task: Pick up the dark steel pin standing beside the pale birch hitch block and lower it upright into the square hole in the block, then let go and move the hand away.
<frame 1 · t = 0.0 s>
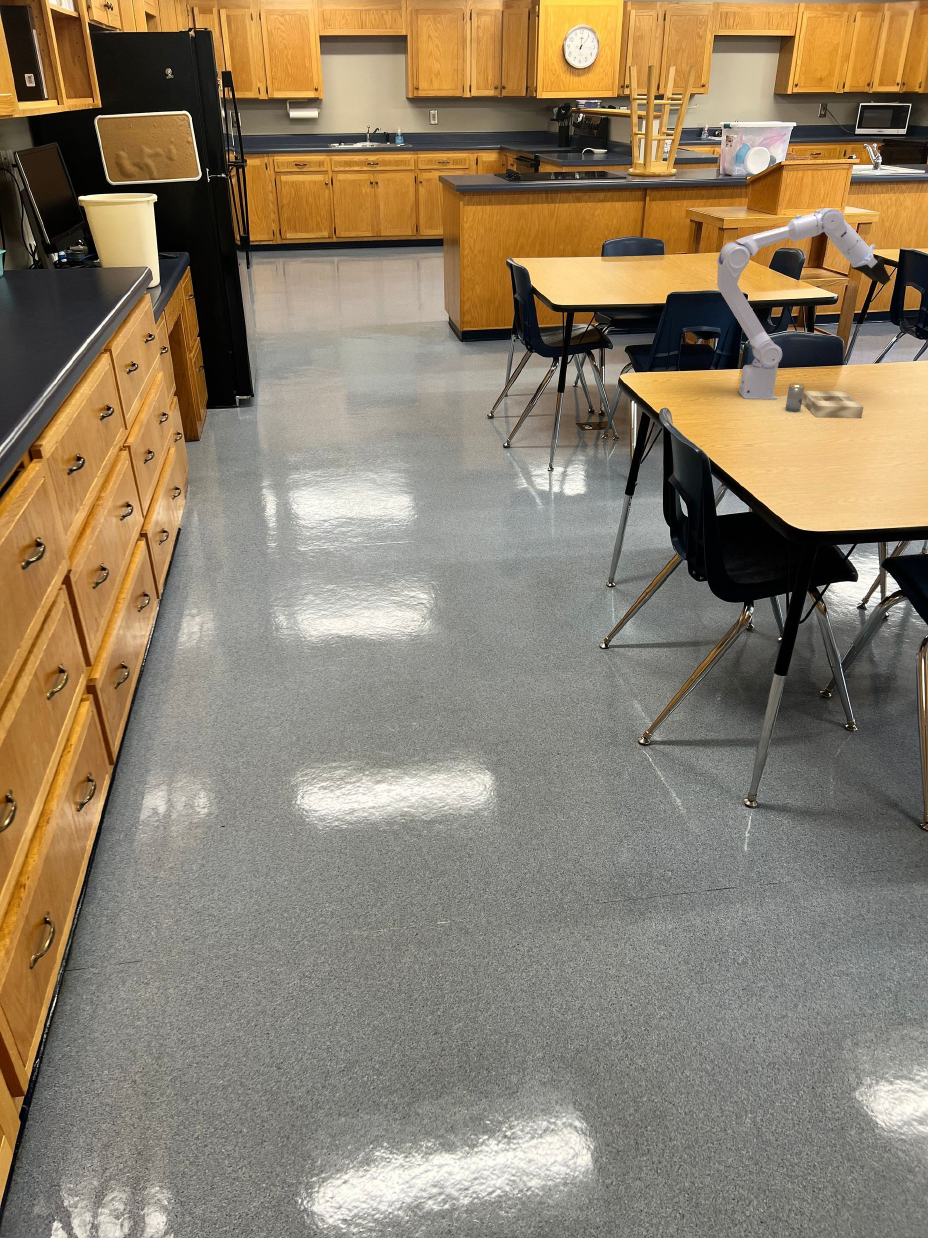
hand: (882, 280, 245), 32 cm above the table, fingers open, 7 cm apart
hitch block: (829, 409, 249), on the table
pin: (792, 410, 248), on the table
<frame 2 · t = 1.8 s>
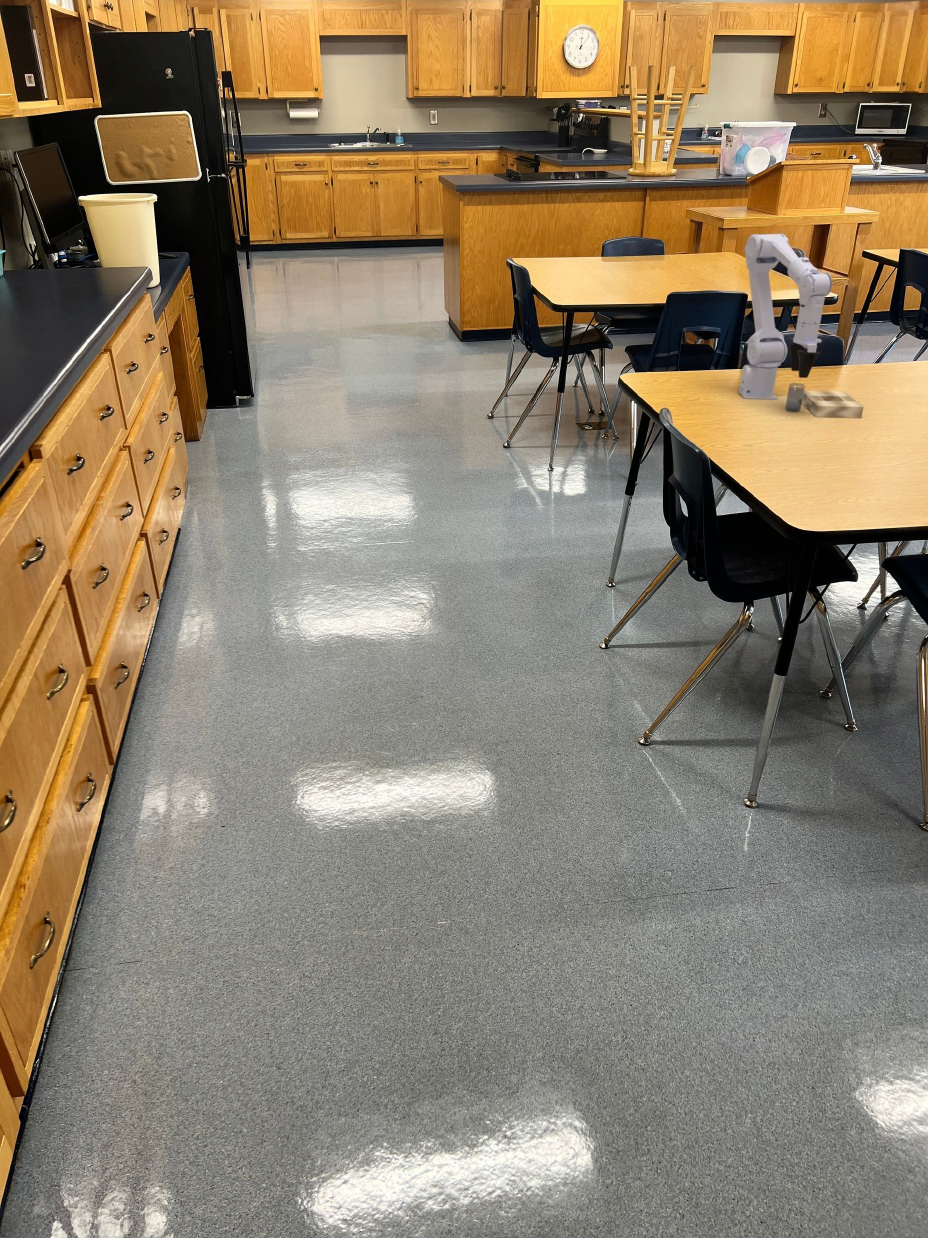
hand: (799, 373, 243), 10 cm above the table, fingers open, 7 cm apart
nothing on the table moved.
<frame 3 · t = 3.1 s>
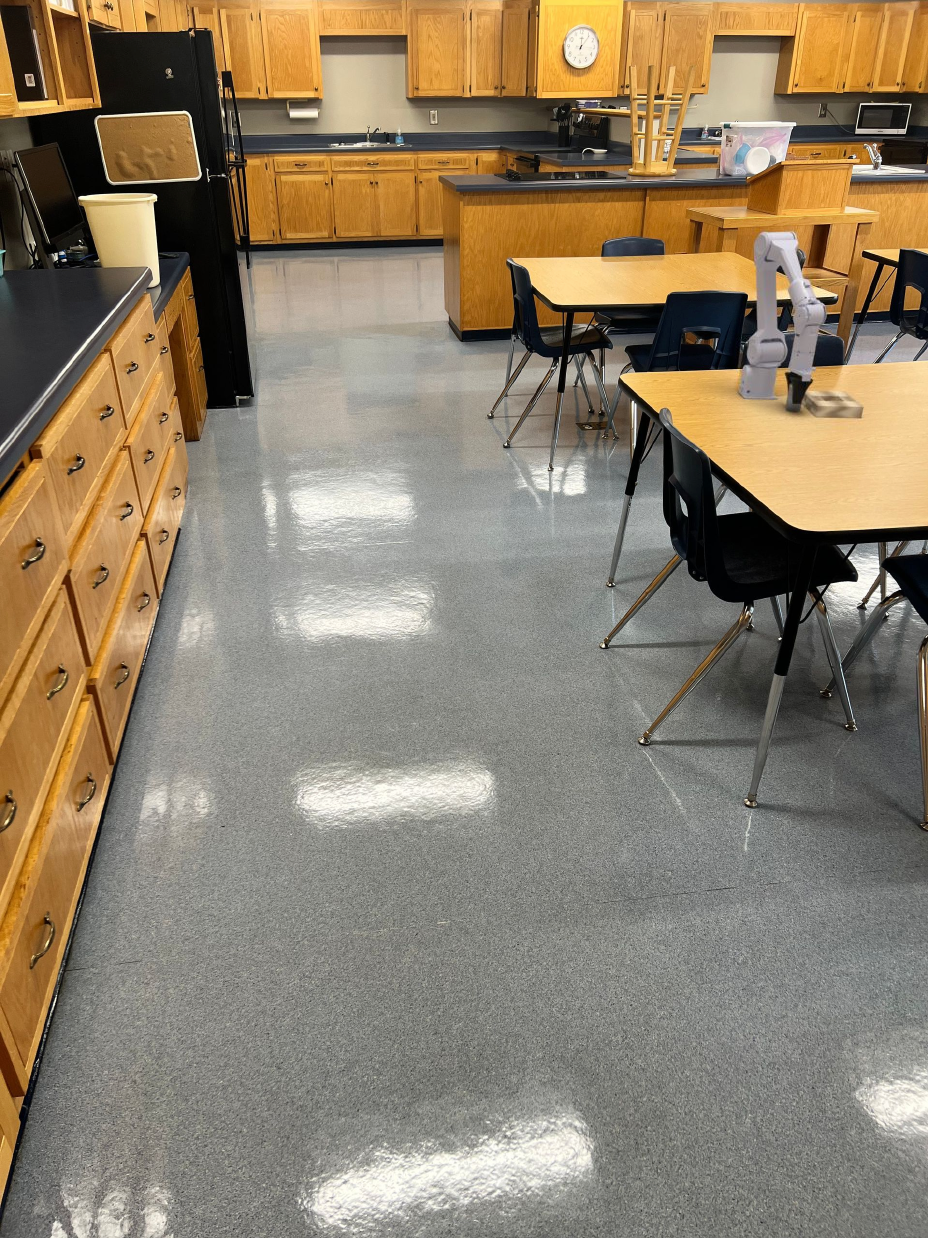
hand: (794, 401, 247), 2 cm above the table, fingers closed on pin, 4 cm apart
pin: (792, 409, 248), on the table, touching gripper
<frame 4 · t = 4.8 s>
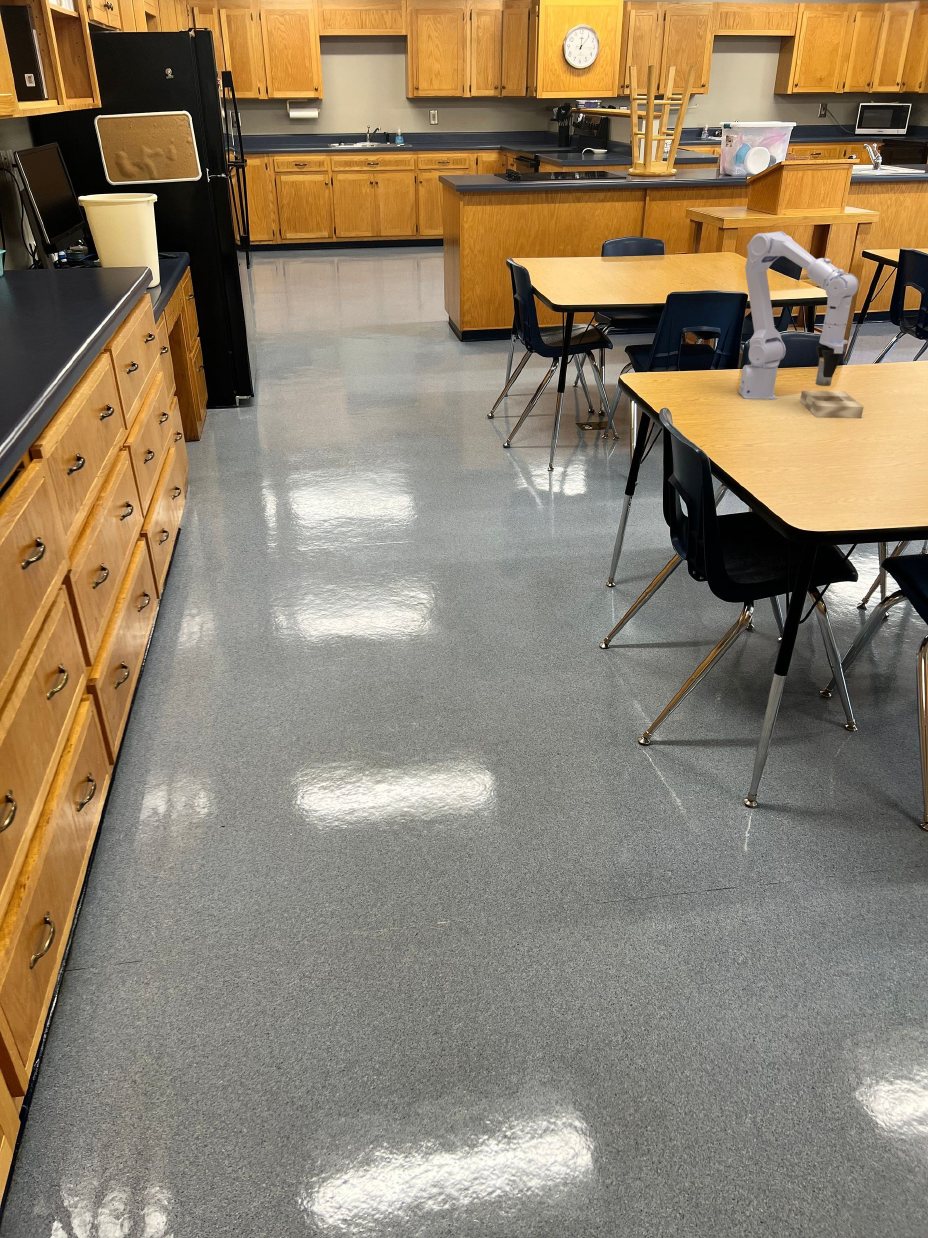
hand: (825, 375, 244), 9 cm above the table, fingers closed on pin, 4 cm apart
pin: (823, 384, 245), point 7 cm above the table, touching gripper
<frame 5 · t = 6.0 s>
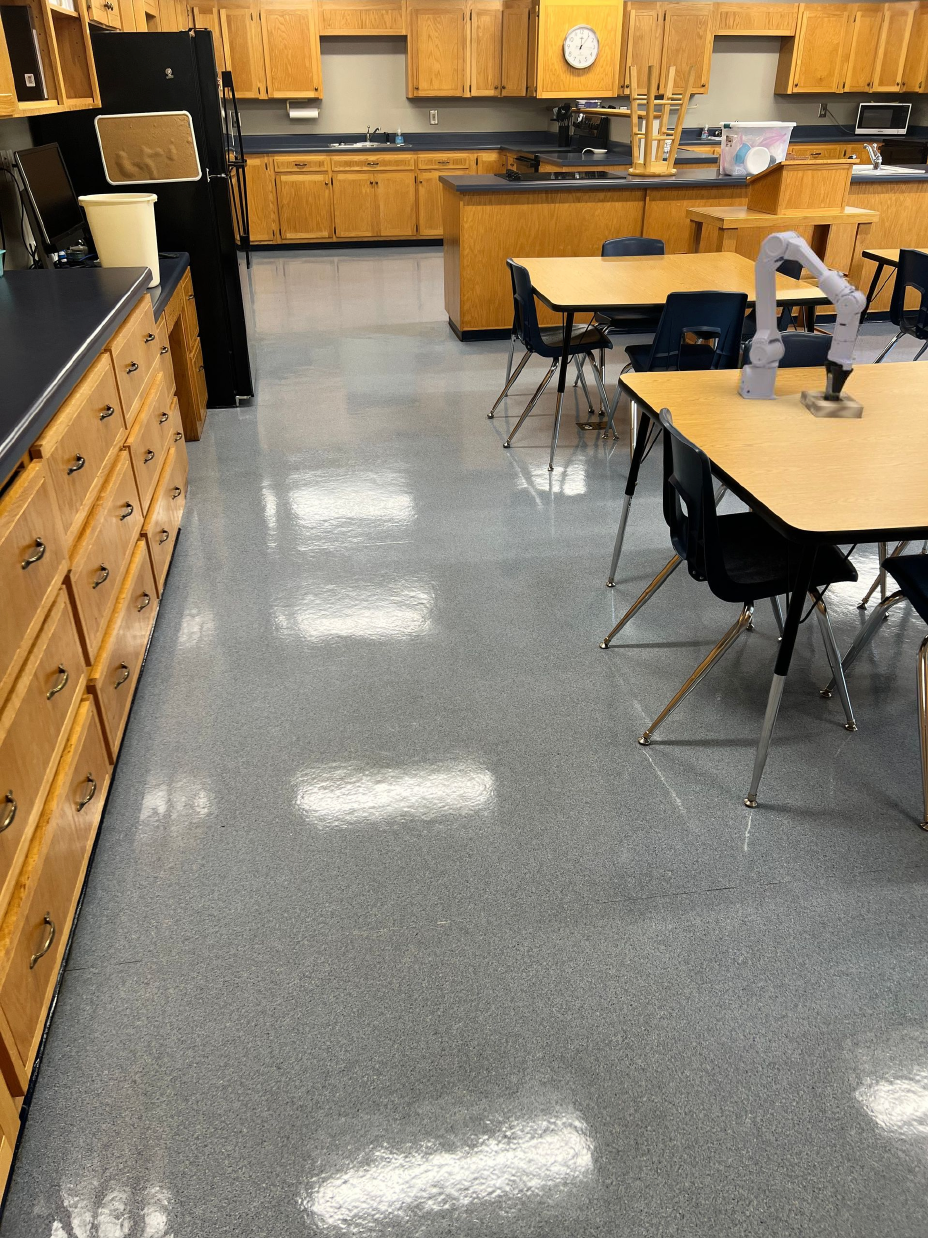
hand: (833, 390, 246), 5 cm above the table, fingers closed on pin, 4 cm apart
pin: (831, 399, 247), point 3 cm above the table, touching gripper
when the fingers open (4 cm above the table, at t = 6.8 s): pin drops 1 cm, resting in hitch block.
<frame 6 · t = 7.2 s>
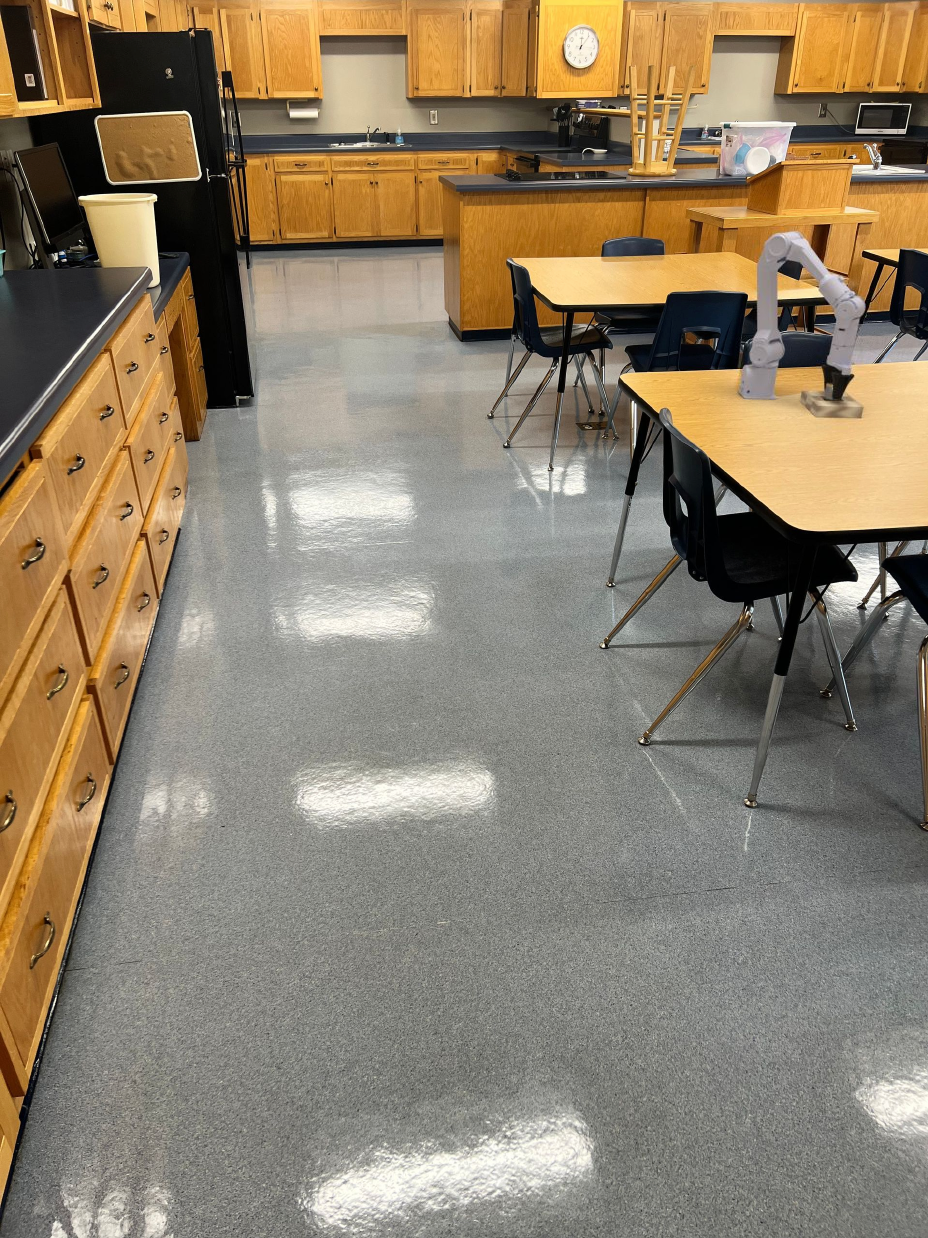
hand: (832, 395, 247), 4 cm above the table, fingers open, 7 cm apart
pin: (829, 409, 249), resting in hitch block
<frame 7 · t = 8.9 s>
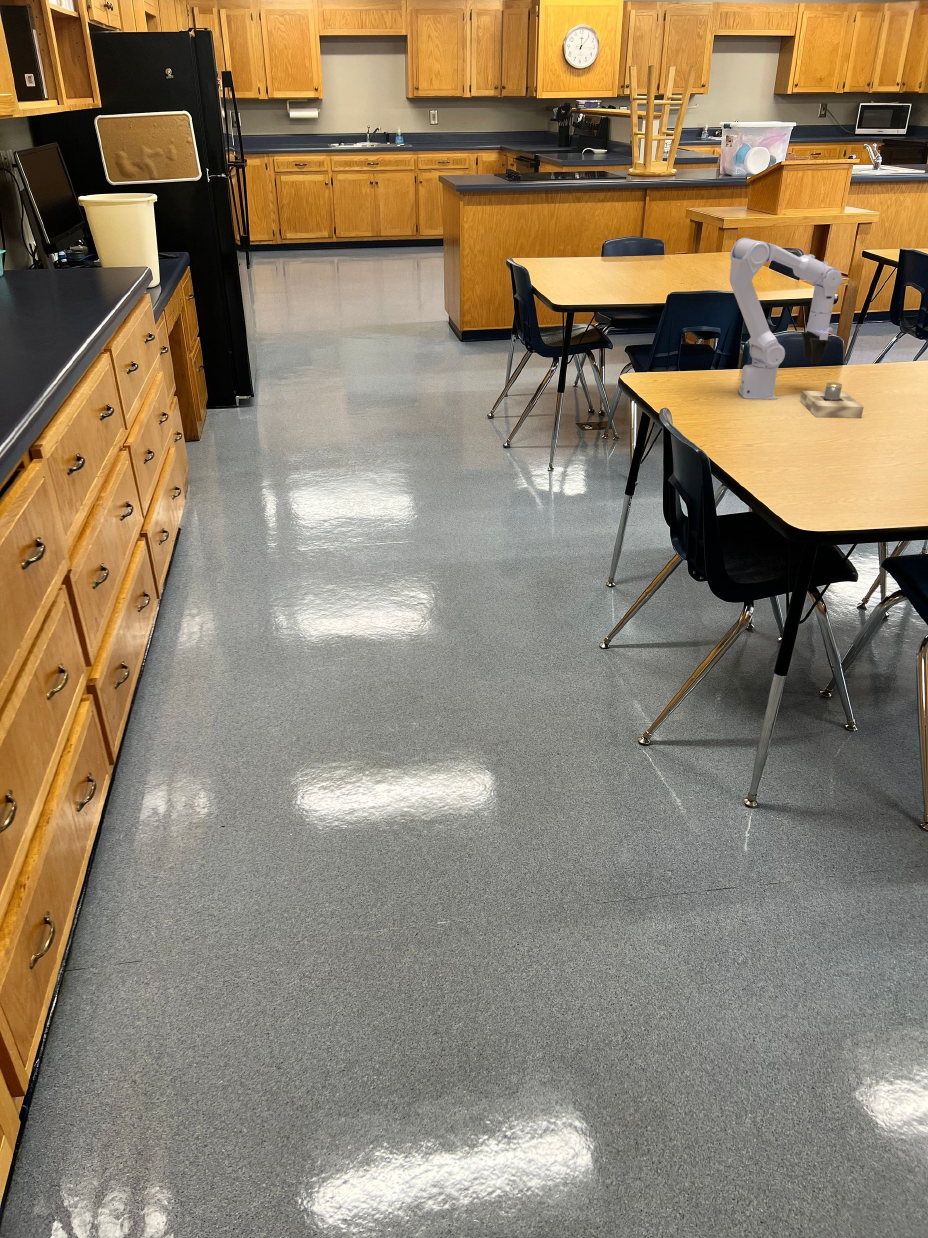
hand: (811, 360, 259), 9 cm above the table, fingers open, 7 cm apart
nothing on the table moved.
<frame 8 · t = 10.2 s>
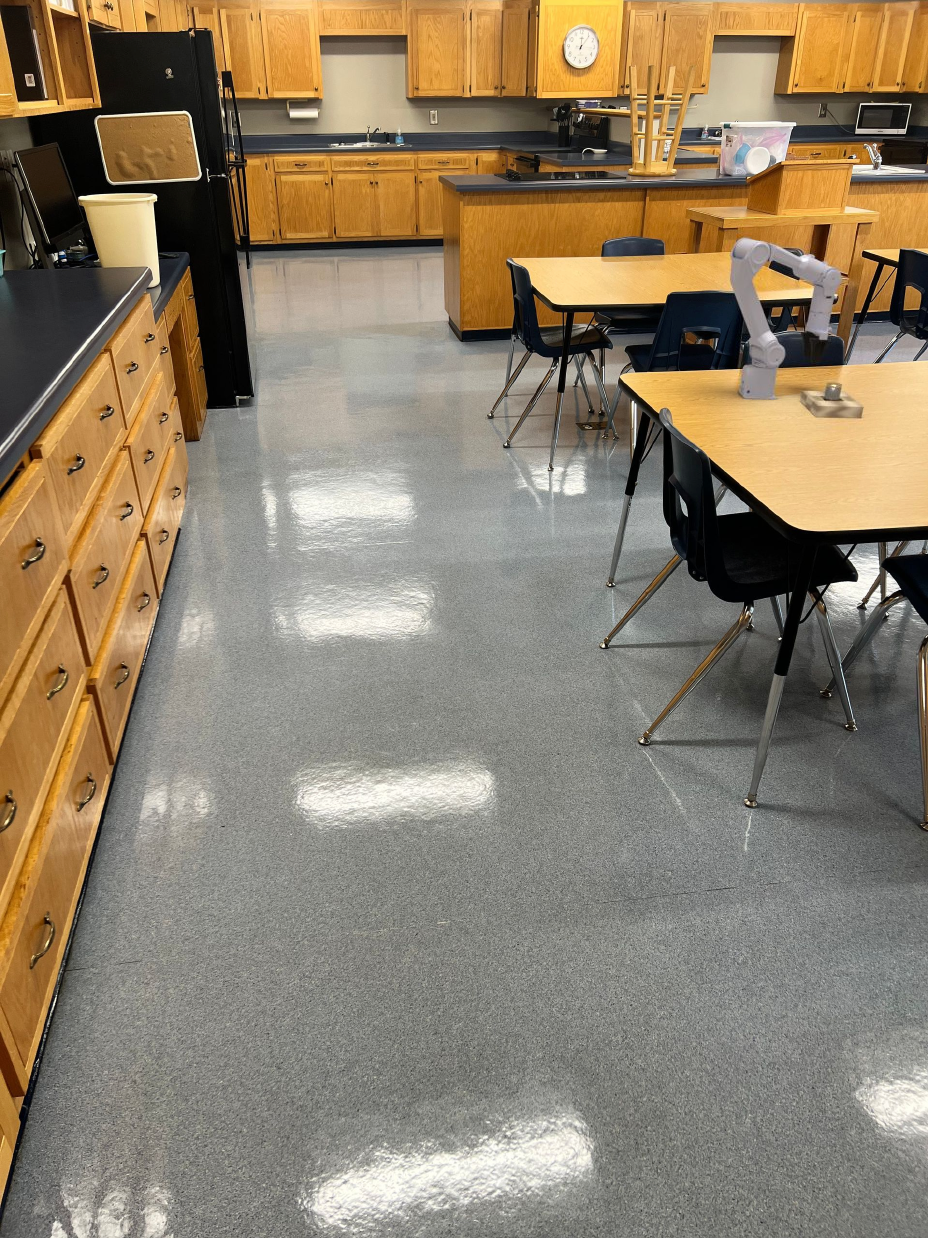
hand: (811, 360, 260), 9 cm above the table, fingers open, 7 cm apart
nothing on the table moved.
at the end: pin 0.1 cm off-centre on the hitch block, point 0.0 cm above the hitch block's base; pin tilted 0°; the gripper is holding nothing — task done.
